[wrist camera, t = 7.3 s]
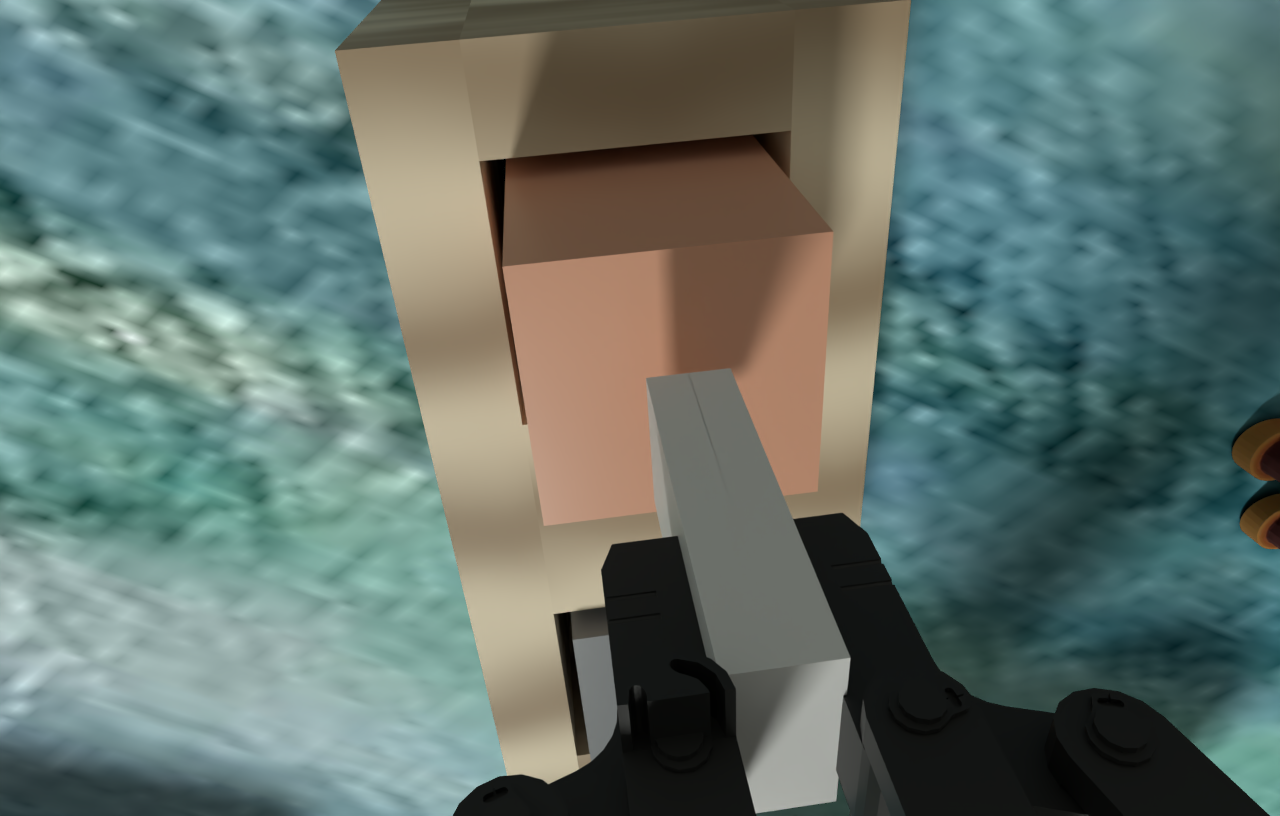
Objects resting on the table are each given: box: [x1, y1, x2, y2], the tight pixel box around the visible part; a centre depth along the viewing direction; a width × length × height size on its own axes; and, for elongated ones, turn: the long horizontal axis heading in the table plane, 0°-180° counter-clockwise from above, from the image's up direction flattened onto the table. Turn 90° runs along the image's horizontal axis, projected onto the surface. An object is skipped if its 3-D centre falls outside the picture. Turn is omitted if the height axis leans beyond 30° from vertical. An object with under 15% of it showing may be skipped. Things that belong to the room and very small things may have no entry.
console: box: [335, 0, 911, 784], centre depth 28 cm, size 26×12×8 cm, turn 4°
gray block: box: [571, 607, 617, 761], centre depth 32 cm, size 6×6×8 cm
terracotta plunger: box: [502, 135, 833, 526], centre depth 21 cm, size 6×6×8 cm
